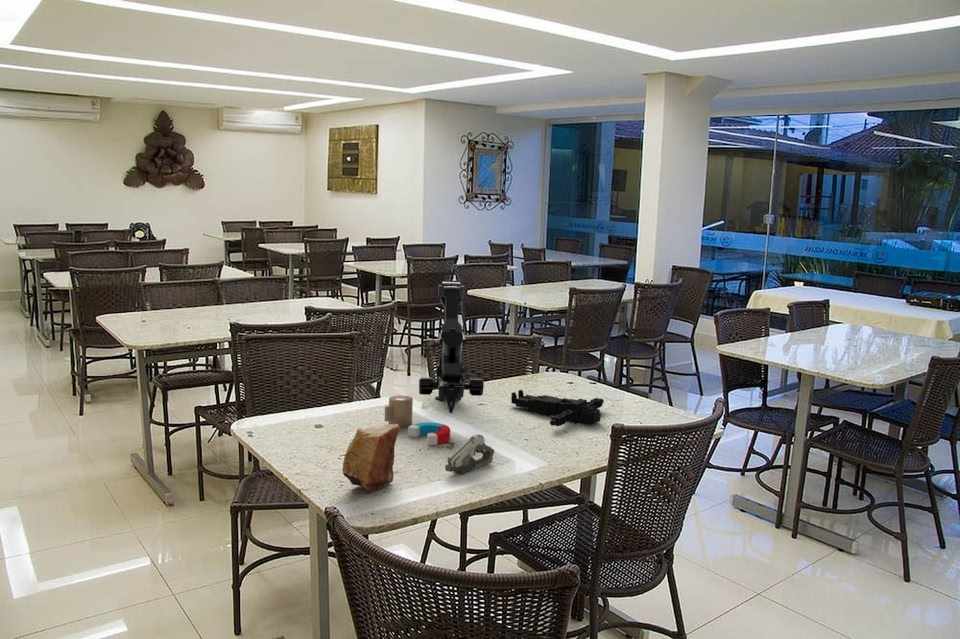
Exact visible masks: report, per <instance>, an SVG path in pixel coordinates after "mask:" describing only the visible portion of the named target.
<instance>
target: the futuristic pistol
mask: <svg viewBox="0 0 960 639" xmlns="http://www.w3.org/2000/svg"><path fill="white" fill-rule="evenodd" d="M485 441H486V440H485V437H484V435H482V434H473V435H472V436H470V438H469V440H467V441H466V442H464V444H463V445H461V446H460V448H458V449H457V450H456V451H455V452H454V453H453V454H452V455H451V456H450V457H447V460H446V461H447V464H445V466H444V467H445V468H444V469H445V471H446V472H451V473H452V472H453V473H455V474H458V475H465V473H466V474H468V473H471V472H472V471H473V469H474V468H476V469H480V467H481V468H484V467H485V466H488V465H489V464H491V463H492V462H493V461H494V460H493V459H494V458H493V457H494V454H495V449H493V448H492V447H491V446H489V445H487V444H486V443H485ZM476 453H477V454H482V456H481V457H480V458H478V459H475V458H474V456H476Z"/></svg>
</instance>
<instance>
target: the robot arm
mask: <svg viewBox="0 0 960 639" xmlns="http://www.w3.org/2000/svg"><path fill="white" fill-rule="evenodd" d="M438 297H440V303H441V304H442V306H443V308H444V322H443V324H442V325H441V332H439V334H438V338H439V340H438V344H439V345H441V346H440V347H441V348H442V350H441V351H442V352H441V356H440V357H439V359H438V364H436V373H435V374H436V376H435V378H436V380H435V382H434V378H433V377H420V378H419V380H418V394H419V395H424V396H425V395H426V396H427V395H431V394H433V390H437V391H438V395H437V396H435V397H434V399H437V400H438V401H439V400H440V401H443V402H444V404H445V406H446V407H447V408H446V409H447V411H448V413H449V414H453V413H454V410H455V408H456V405H457V404H458V402H459V400H462V398H464V396H465V395H464V394H465V391H467V390H468V391H469V395H471V397H472V396H475V397H477V396H478V397H479V396H480V397H481V396H483V393H484V387H485V386H484V385H485V384H484V379H482V378H469V382H464V378H465V377H464V376H465V374H467V373H468V362H467V361H462V351H463V346H465V344H467V343H468V342H467V336H466V334H465V332H463V326H462V324H461V323H460V322H459V305H460V304H461V303H462V298H464V297H465V286H464V285H461V282H457V281H442V283H441V284H438Z"/></svg>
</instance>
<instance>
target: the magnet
mask: <svg viewBox="0 0 960 639" xmlns="http://www.w3.org/2000/svg"><path fill="white" fill-rule="evenodd" d="M424 435H427V438H426V439H427V440H426V442H427V446H436V445H442V444H445V443H447V442H449V441H450V439H451V428H450V426H448V425H447V424H444V423H441V422H431V421H429V422H428V421H427V422H426V421H425V422H418V423H417V422H416V423H414V424H412V425H411V426H409V427H408V428H407V437H413V438H418V437H419V436H424Z"/></svg>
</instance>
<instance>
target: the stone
mask: <svg viewBox="0 0 960 639" xmlns="http://www.w3.org/2000/svg"><path fill="white" fill-rule="evenodd" d="M400 431H401V428H400V426H399V425H398V424H389V423H388V424H383V425H381V427H365V428H364V429H363V428H362V427H358V428H357V430H356V433H355V434H354V436H353V439H352V440H351V442H350V443H349V445H348V446H347V450H346V451H345V454H344V458H343V463H342V474H343V476H344V477H345V478H347V480H349V482H350V484H351V485H352V486H359V487H361V489H362V490H364V491H366V492H367V493H368V492H372V491H375V490H377V491H378V490H380V489H382V488H383V487H385V486H386V485H390V484H391V483H393V481H394V478H395V477H394V463H395V446H396V442H397V438H398V435H399V432H400Z"/></svg>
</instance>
